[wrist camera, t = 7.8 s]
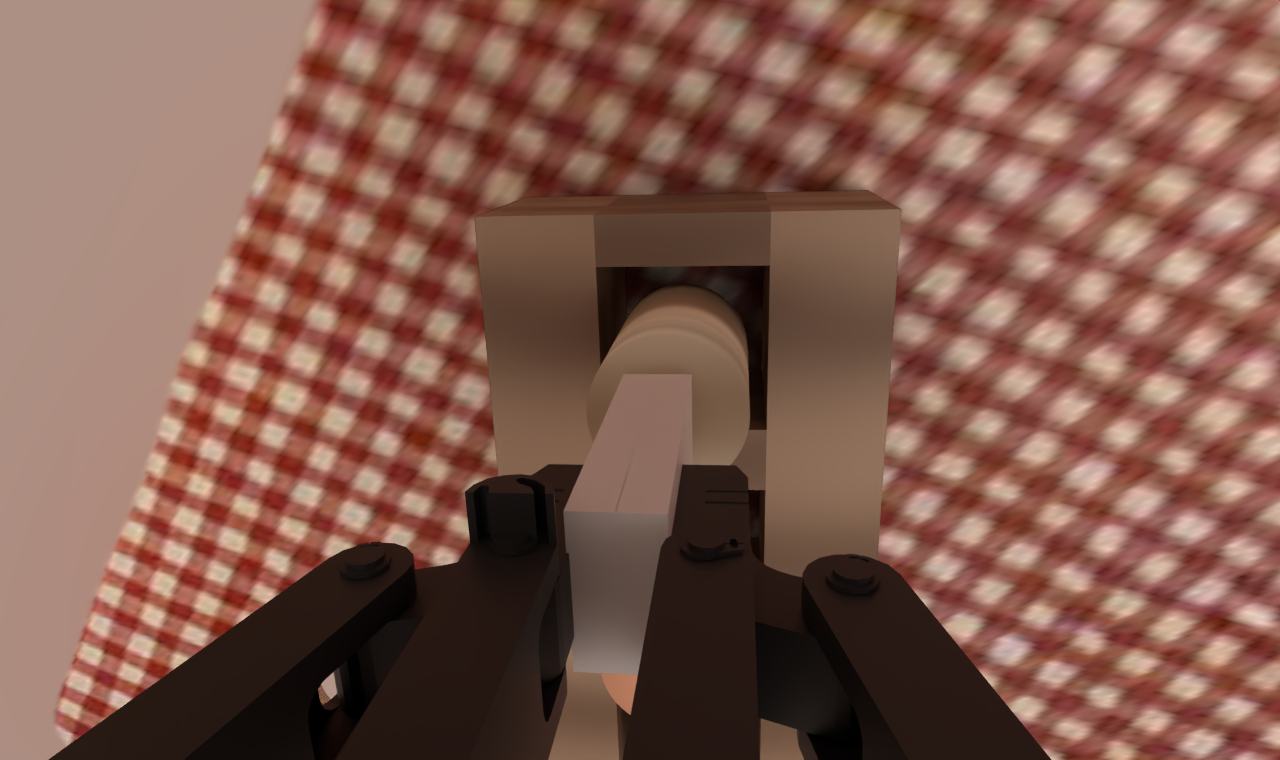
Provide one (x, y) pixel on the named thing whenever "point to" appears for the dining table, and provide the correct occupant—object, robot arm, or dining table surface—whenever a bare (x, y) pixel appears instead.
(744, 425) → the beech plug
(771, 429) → the walnut socket block
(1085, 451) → the dining table surface
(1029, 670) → the dining table surface
